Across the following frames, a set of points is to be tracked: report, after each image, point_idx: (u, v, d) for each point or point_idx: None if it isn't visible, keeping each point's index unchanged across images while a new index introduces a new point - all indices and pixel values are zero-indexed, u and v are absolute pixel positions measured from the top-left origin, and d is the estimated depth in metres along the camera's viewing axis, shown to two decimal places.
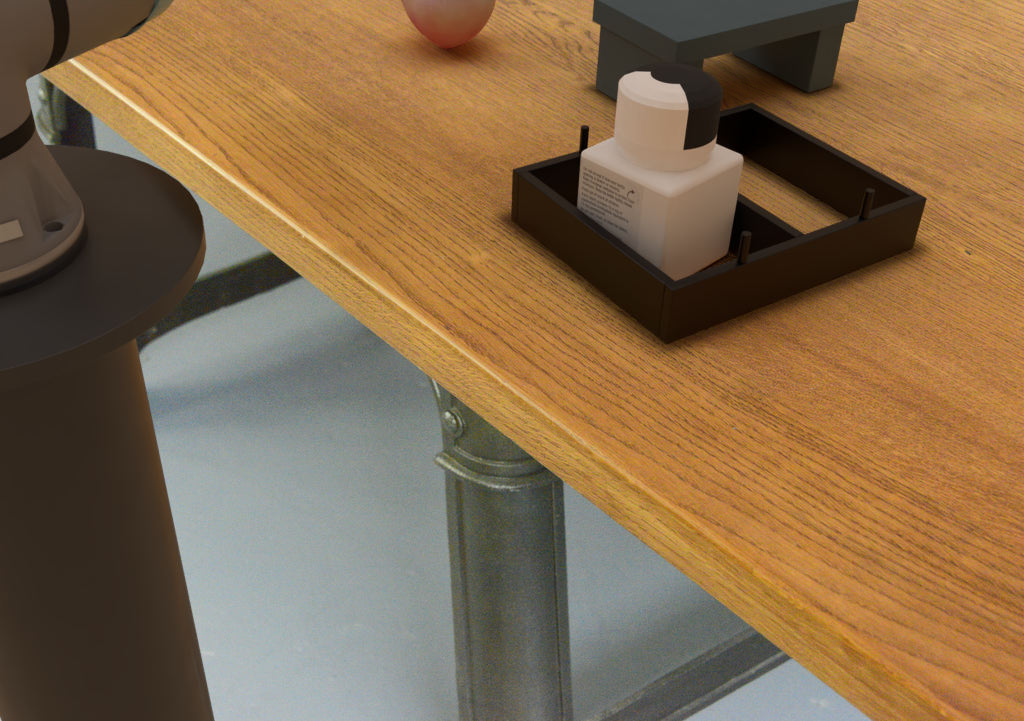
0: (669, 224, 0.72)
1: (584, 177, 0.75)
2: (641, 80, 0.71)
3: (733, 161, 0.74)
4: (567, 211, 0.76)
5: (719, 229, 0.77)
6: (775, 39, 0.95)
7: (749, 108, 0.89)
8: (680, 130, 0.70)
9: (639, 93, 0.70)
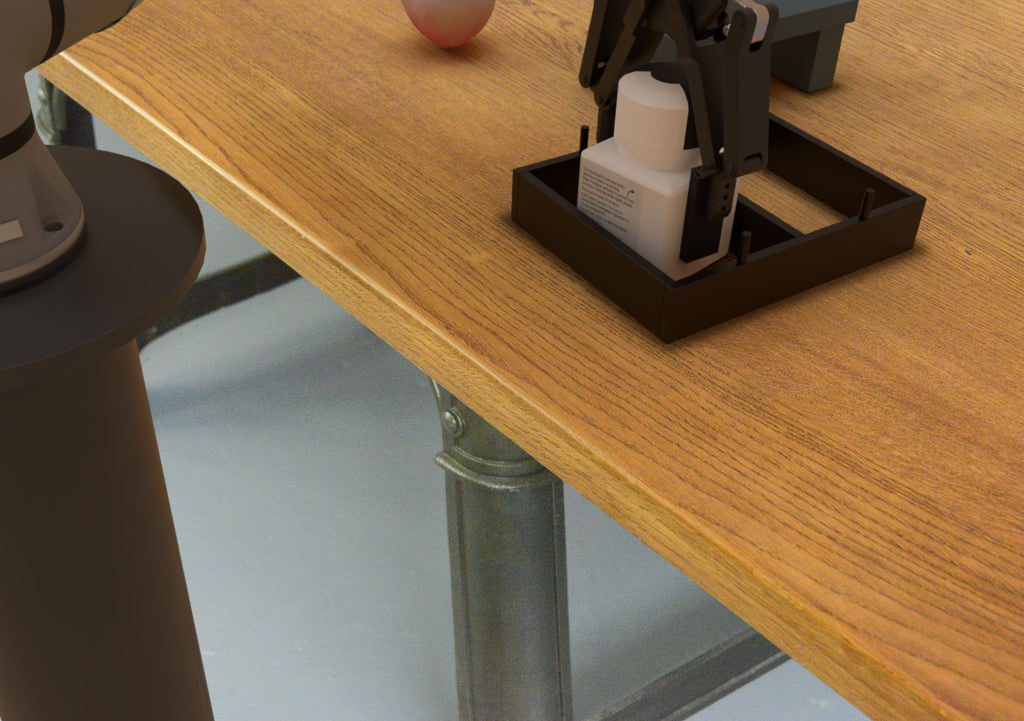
0: (669, 223, 0.72)
1: (584, 177, 0.75)
2: (641, 80, 0.71)
3: None
4: (567, 211, 0.76)
5: None
6: (775, 39, 0.95)
7: None
8: (680, 130, 0.70)
9: (638, 93, 0.70)
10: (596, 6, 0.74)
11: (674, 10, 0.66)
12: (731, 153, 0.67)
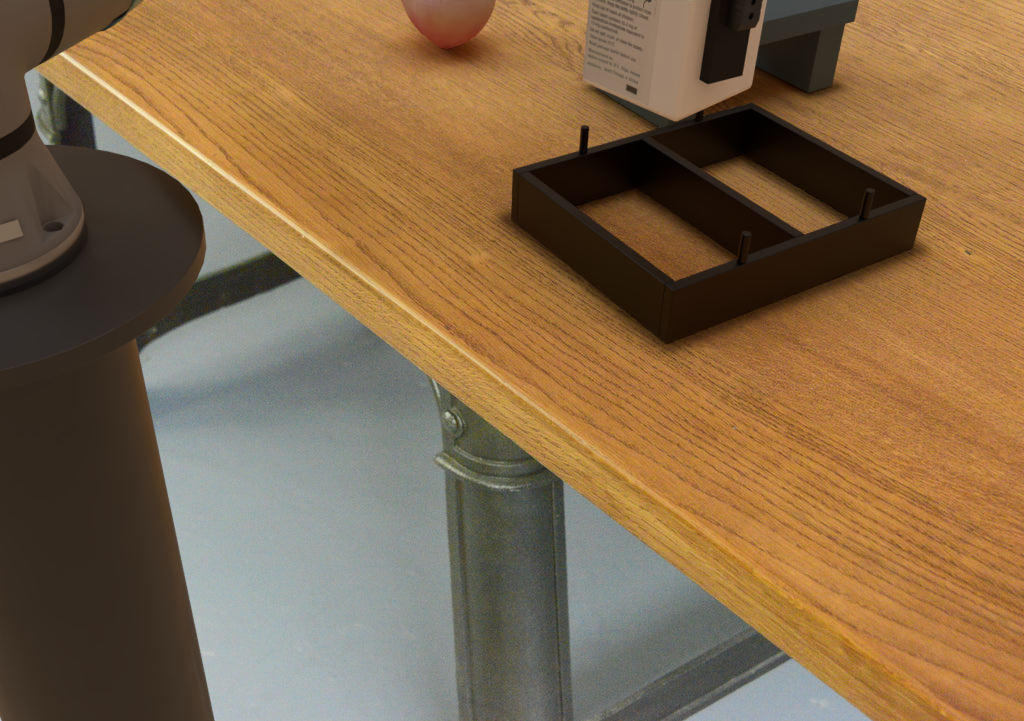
0: (690, 34, 0.64)
1: None
2: None
3: None
4: (567, 211, 0.76)
5: None
6: (775, 39, 0.95)
7: (749, 108, 0.89)
8: None
9: None
10: None
11: None
12: None
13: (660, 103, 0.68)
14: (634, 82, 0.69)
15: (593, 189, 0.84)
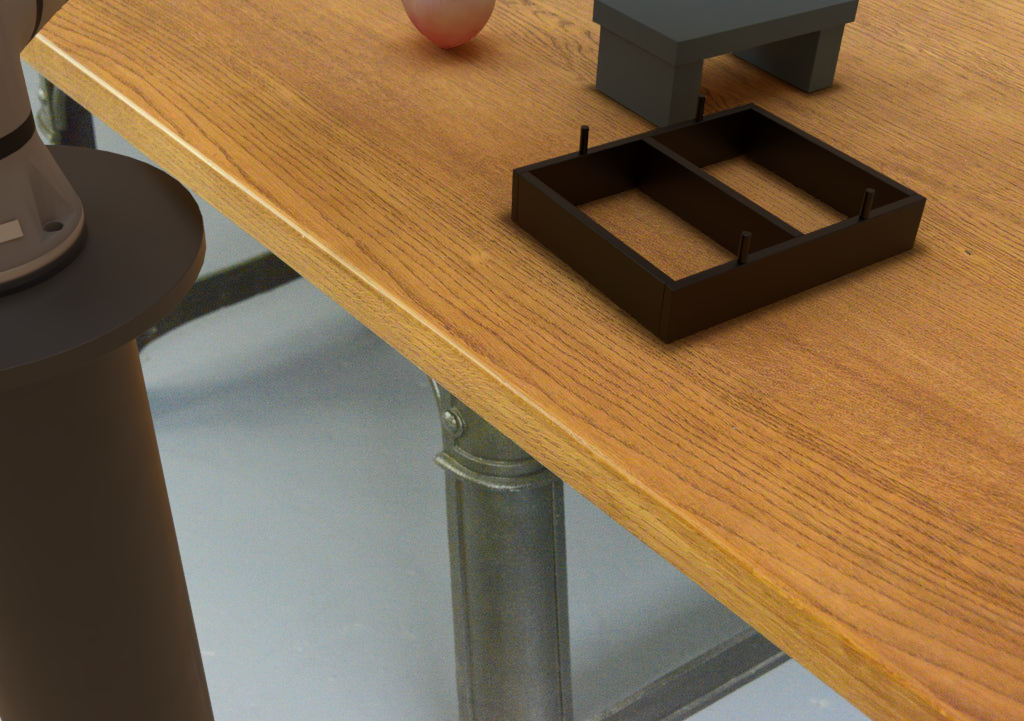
0: None
1: None
2: None
3: None
4: (567, 211, 0.76)
5: None
6: (775, 39, 0.95)
7: (749, 108, 0.89)
8: None
9: None
10: None
11: None
12: None
13: None
14: None
15: (593, 189, 0.84)
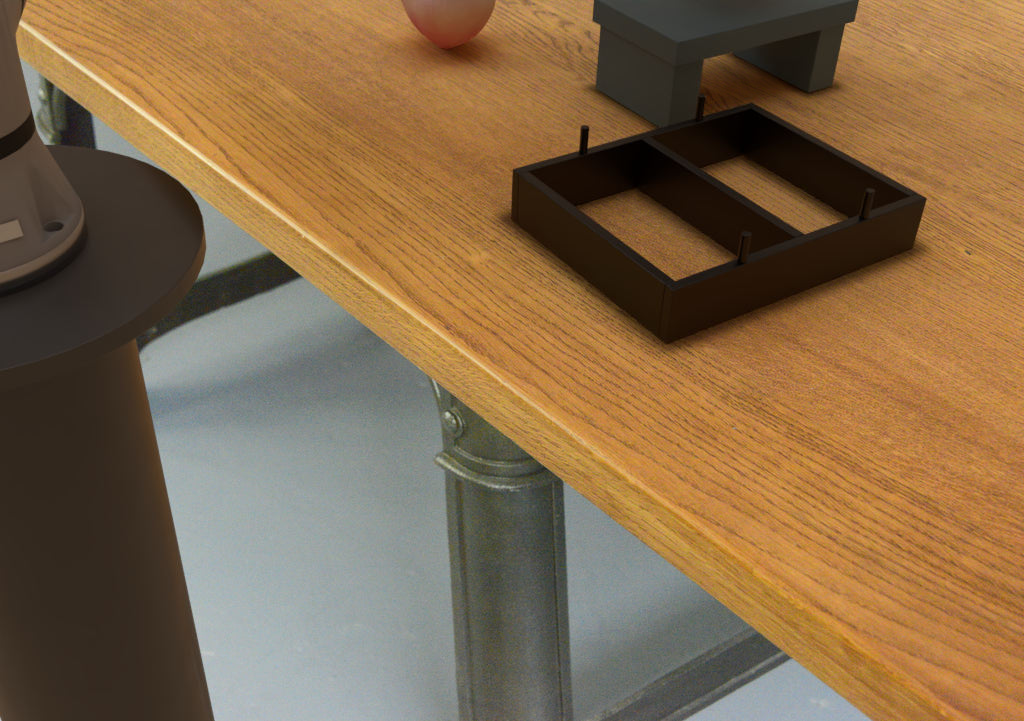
0: None
1: None
2: None
3: None
4: (567, 211, 0.76)
5: None
6: (775, 39, 0.95)
7: (749, 108, 0.89)
8: None
9: None
10: None
11: None
12: None
13: None
14: None
15: (593, 189, 0.84)
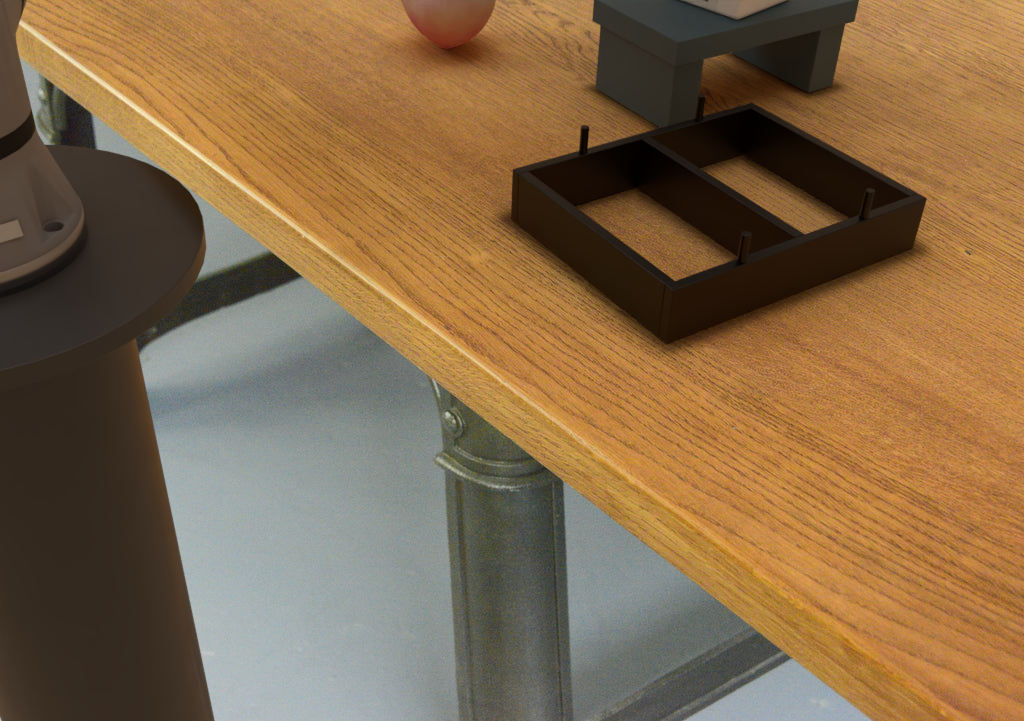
0: None
1: None
2: None
3: None
4: (567, 211, 0.76)
5: None
6: (775, 39, 0.95)
7: (749, 108, 0.89)
8: None
9: None
10: None
11: None
12: None
13: (726, 6, 0.93)
14: None
15: (593, 189, 0.84)
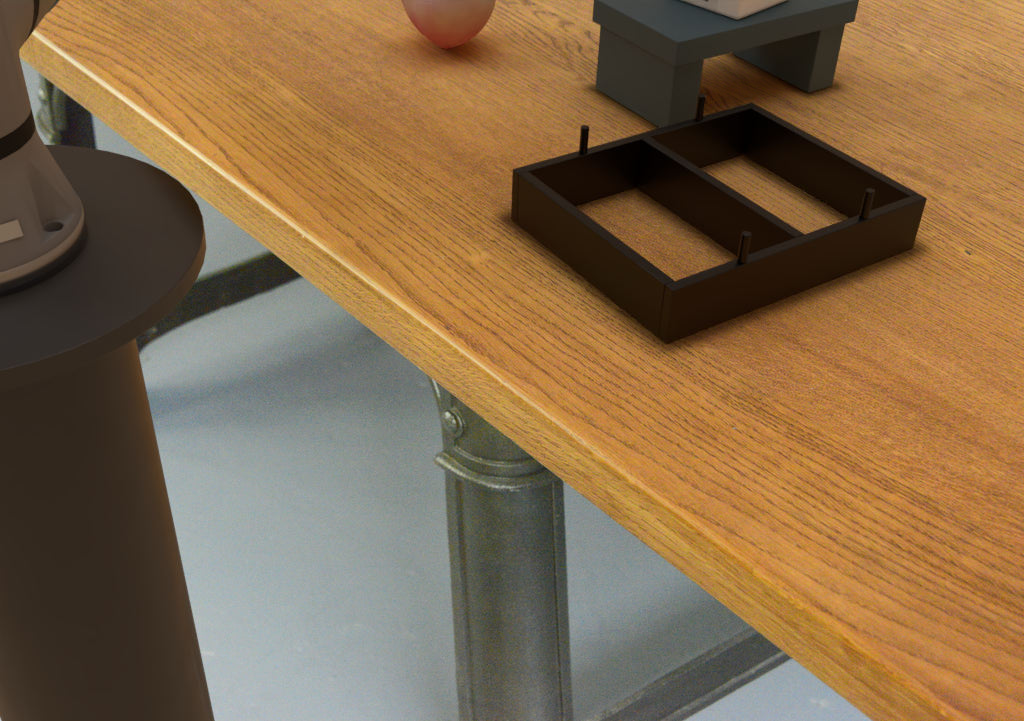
0: None
1: None
2: None
3: None
4: (567, 211, 0.76)
5: None
6: (775, 39, 0.95)
7: (749, 108, 0.89)
8: None
9: None
10: None
11: None
12: None
13: (726, 6, 0.93)
14: None
15: (593, 189, 0.84)
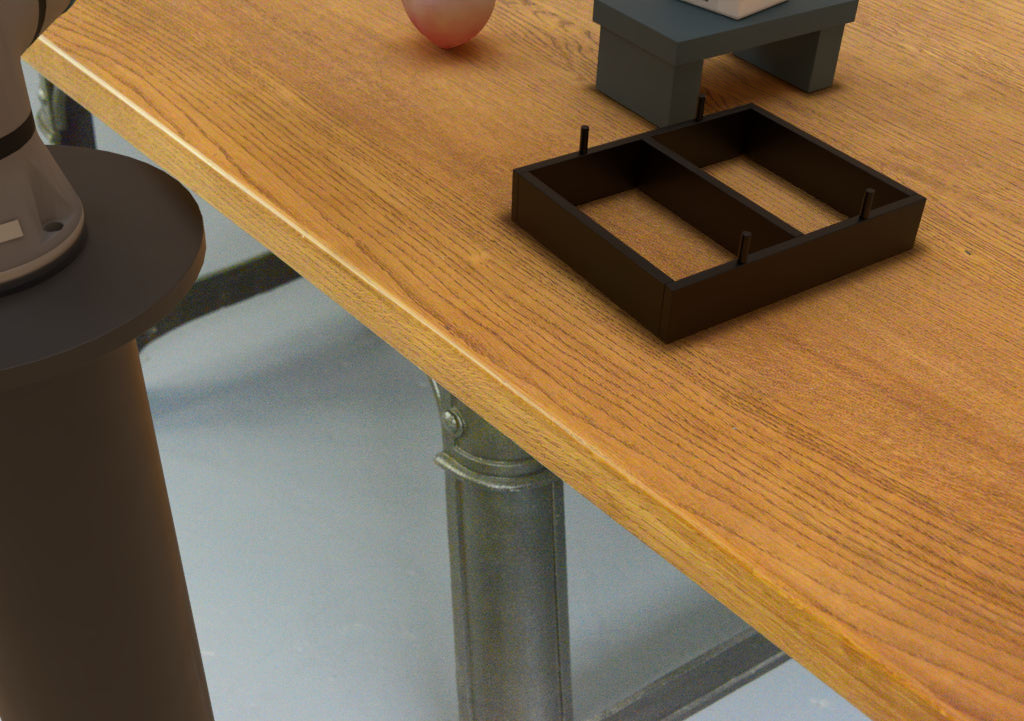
0: None
1: None
2: None
3: None
4: (567, 211, 0.76)
5: None
6: (775, 39, 0.95)
7: (749, 108, 0.89)
8: None
9: None
10: None
11: None
12: None
13: (726, 6, 0.93)
14: None
15: (593, 189, 0.84)
